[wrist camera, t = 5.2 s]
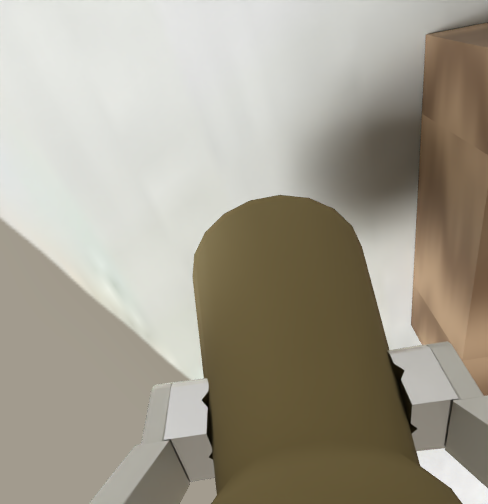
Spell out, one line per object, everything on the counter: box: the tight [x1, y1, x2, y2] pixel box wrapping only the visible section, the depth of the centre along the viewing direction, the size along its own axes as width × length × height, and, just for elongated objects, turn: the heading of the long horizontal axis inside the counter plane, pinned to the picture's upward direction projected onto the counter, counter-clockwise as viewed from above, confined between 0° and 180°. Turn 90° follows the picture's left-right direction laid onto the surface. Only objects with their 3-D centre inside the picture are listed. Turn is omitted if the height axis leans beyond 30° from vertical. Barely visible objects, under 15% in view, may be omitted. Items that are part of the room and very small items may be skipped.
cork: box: [193, 195, 462, 504], centre depth 10 cm, size 6×6×11 cm
